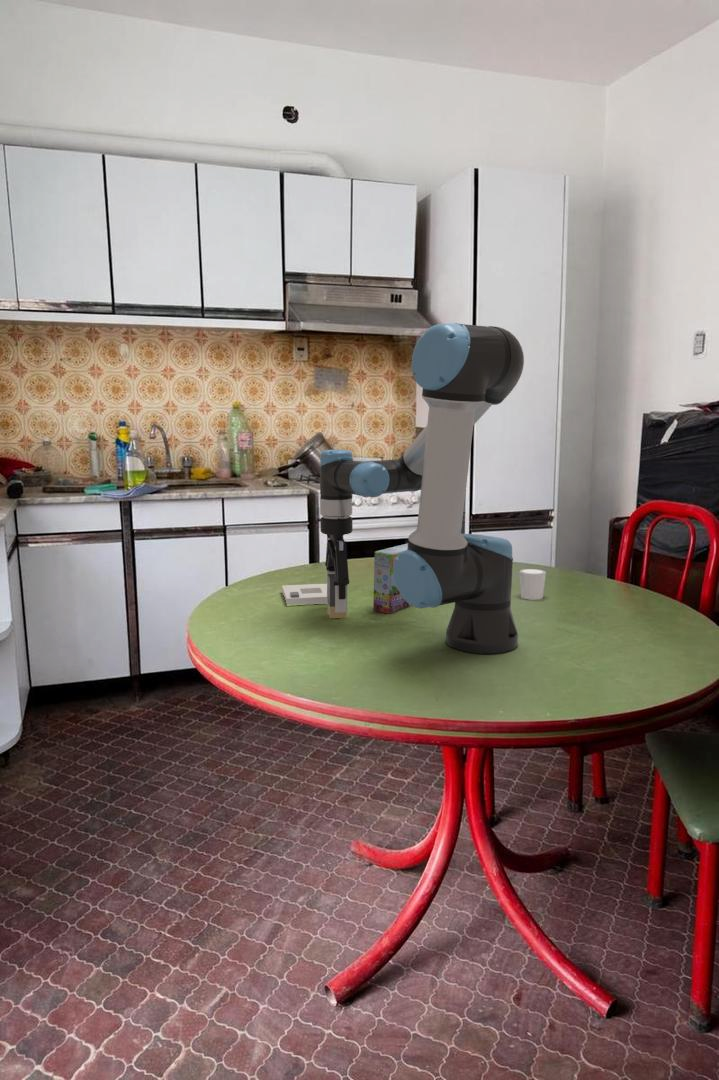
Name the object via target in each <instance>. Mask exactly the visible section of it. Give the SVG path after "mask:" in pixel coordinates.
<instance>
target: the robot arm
mask: <svg viewBox="0 0 719 1080" xmlns="http://www.w3.org/2000/svg"><path fill="white" fill-rule="evenodd" d="M524 364H525V356H524V350H523V347H522V345H521V343H520V342H519V339H518V338H517V337H516V336H515V335H514V334H513V333H512V332H510V331H509V330H507V329H505V328H504V327H499V326H491V325H488V326H486V325H475V324H474V325H473V324H466V323H464V324H463V323H458V322H452V323H451V322H450V323H437V324H435V325H432V326H431V327H429V328H428V329H426V330H425V332H424V334H421V336H420V337H419V338H418V340H417V342H416V343H415V346H414V348H413V352H412V357H411V372H412V375H413V376H414V380H415V382H416V384H417V385H418V386H419V387H421V388H422V391H421V397H422V399H423V400H424V402H426V404H427V405H428V414H427V424H426V426H425V427H424V428H423V429H422V430H421V432H420V433H418V435H417V436H416V438H415V439H414V440H413V441H412V442H411V444H410V445H408V447H407V448H406V449H405V450H404V452H403V453H401V455H400V457H398V458H397V459H385V460H382V459H381V460H364V461H363V460H362V461H361V460H354V457H353V452H352V451H351V450H348V449H325V450H323V451H321V453H320V456H319V457H320V458H319V489H320V490H319V495H320V498H319V514H320V516H321V518H320V520H319V521H320V522H319V523H320V532H321V533H322V534H324V535H326V536H327V537H326V553H325V563H324V565H325V567H326V568H325V569H326V575H327V574H335V576H336V582H334V583H333V586H335V612H336V613H341V612H347V613H348V585H349V584H350V578H349V577H350V576H349V566H348V564H349V563H348V562H349V561H348V552H347V550H348V549H347V548H348V547H347V546H348V542H347V541H345V539H344V536H345V535H349V534H351V533H352V532H353V518H352V515H353V506H355V505H356V504H355V501H353V495H355V496H360V497H363V498H378V497H381V495H384V494H385V495H387V494H392V493H406V492H408V493H409V492H411V493H412V492H413V493H414V492H418V491H420V495H419V497H420V498H419V504H418V505H419V507H418V517H417V526H416V529H415V530H414V531H413V532H411V533H410V534H409V535H408V538H407V539H408V540H407V543H408V548H407V550H405V551H402V552H401V553H400V554H399V555H398V556H397V557H396V558H395V561H394V565H393V576H394V581H395V584H396V587H397V589H398V590H399V592H400V595H401V596H402V597H403V599H404V600H405V601H406V602H407V603H408V604H410V605H411V606H412V607H414V608H417V609H427V608H437V607H439V606H443V605H448V604H454V608H453V610H452V613H451V617H450V620H449V622H448V625H447V628H446V633H445V642H446V644H447V645H448V646H449V647H451V648H453V649H454V650H458V651H462V652H467V653H472V654H487V655H489V654H500V653H506V652H510V651H513V650H514V649H516V648H517V647H518V645H519V643H518V642H519V633H518V629H517V627H516V624H515V620H514V615H513V612H512V609H511V607H512V606H511V605H512V603H511V602H512V586H513V582H512V581H513V565H514V564H513V561H514V557H513V546H512V543H511V542H510V541H509V540H508V539H507V538H506V539H505V538H503V537H498V536H492V535H484V534H475V533H462V529H463V517H464V509H465V508H464V507H465V501H466V492H467V483H468V476H469V475H468V474H469V466H470V458H471V450H472V449H471V448H472V440H473V431H474V425H476V423H477V422H478V421H479V420H480V419H481V418H482V417H483V416H484V414H485V413H486V412H487V411H488V410H489V409H490V408H491V407H492V406H497V405H499V404H502V402H504V400H505V399H506V398H507V397H508V396H509V395H510V393H512V391H513V390H514V389H515V387H516V386H517V384H518V382H519V380H520V378H521V377H522V373H523V370H524ZM411 606H410V607H411Z"/></svg>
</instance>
